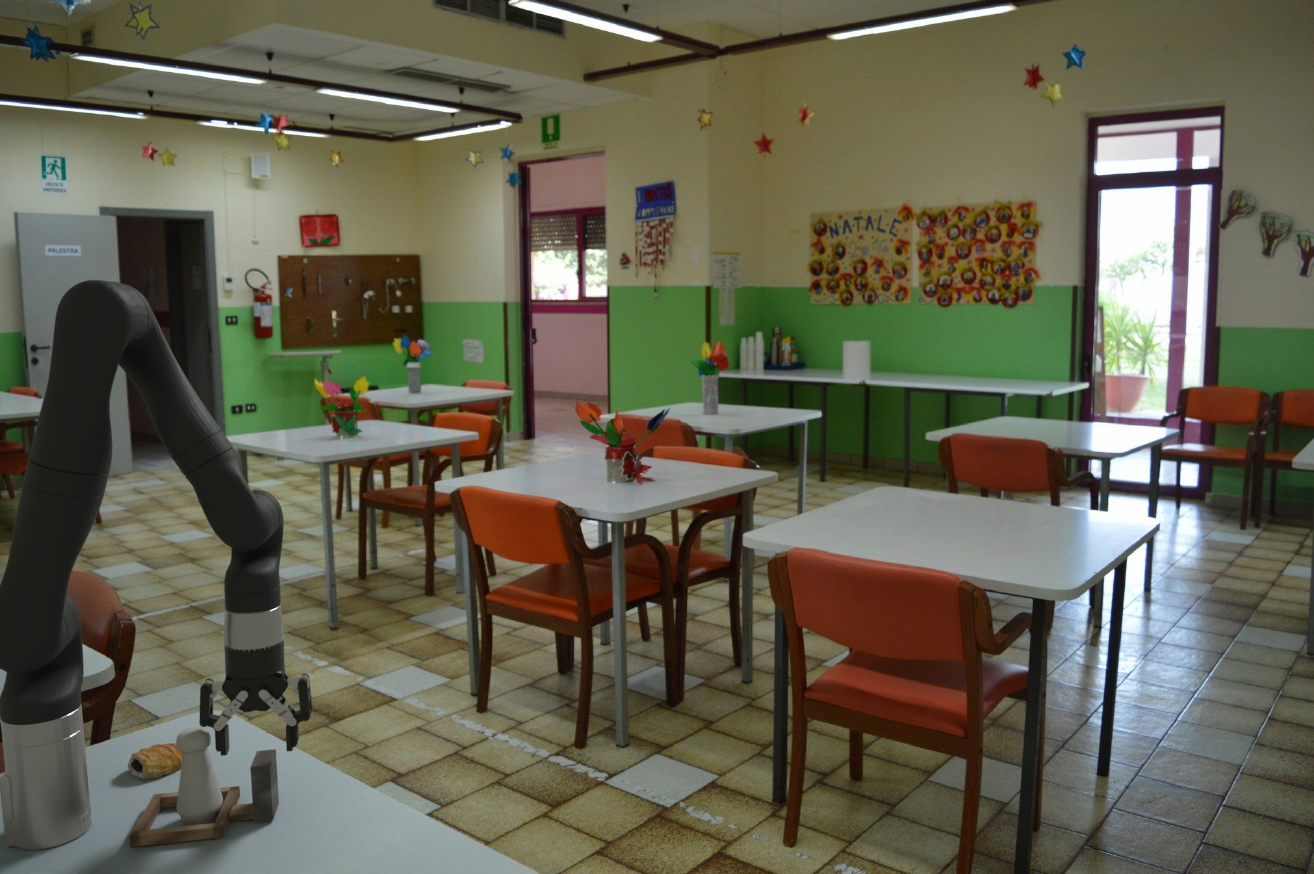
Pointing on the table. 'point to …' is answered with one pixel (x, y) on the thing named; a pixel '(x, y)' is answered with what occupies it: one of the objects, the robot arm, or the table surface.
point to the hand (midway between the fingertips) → (258, 751)
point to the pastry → (155, 761)
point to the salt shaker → (197, 779)
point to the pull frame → (259, 810)
